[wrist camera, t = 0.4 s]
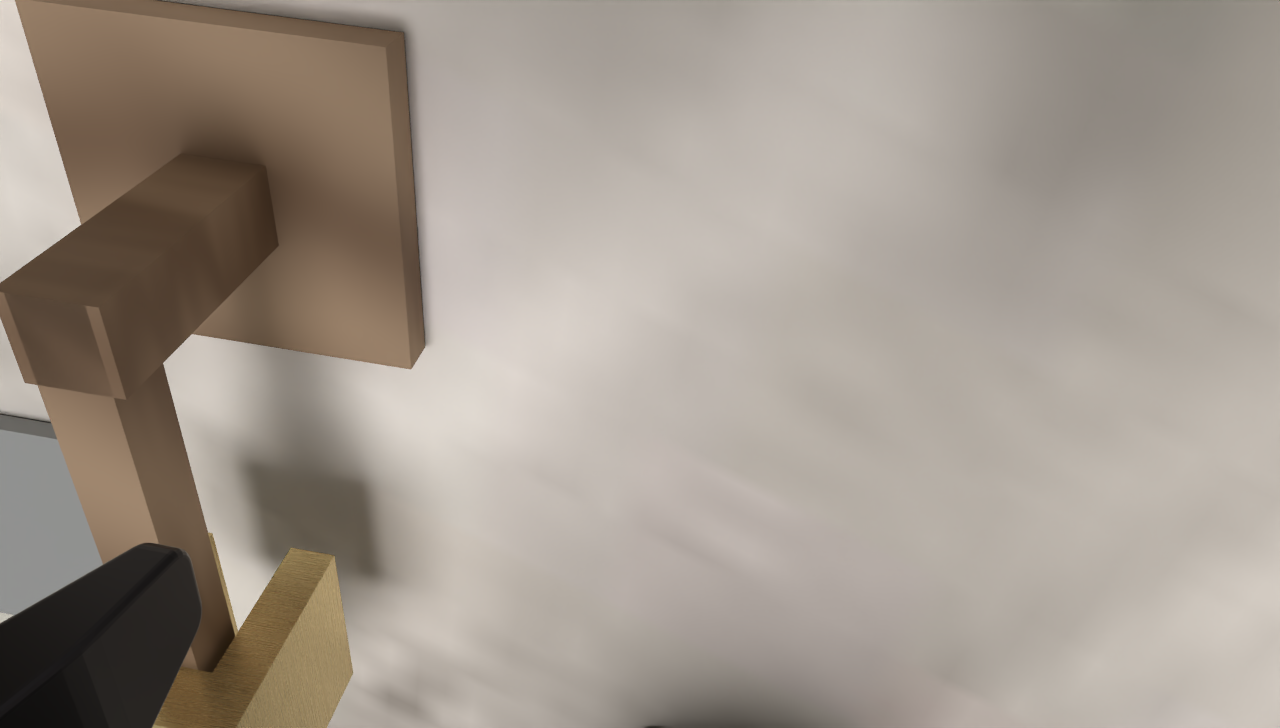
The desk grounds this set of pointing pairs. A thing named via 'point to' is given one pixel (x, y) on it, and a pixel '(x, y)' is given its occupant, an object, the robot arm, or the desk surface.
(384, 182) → the walnut stand
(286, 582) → the slotted brass block
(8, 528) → the slate mat
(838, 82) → the desk surface
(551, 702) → the desk surface
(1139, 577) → the desk surface
